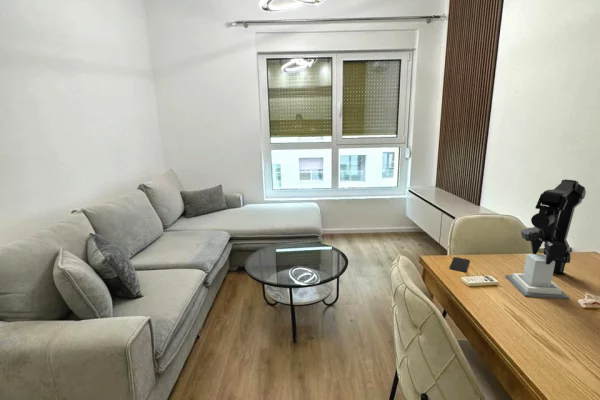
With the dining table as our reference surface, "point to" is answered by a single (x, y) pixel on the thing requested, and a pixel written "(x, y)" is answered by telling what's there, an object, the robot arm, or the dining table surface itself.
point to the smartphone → (459, 264)
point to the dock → (536, 288)
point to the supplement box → (538, 271)
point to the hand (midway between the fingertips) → (540, 259)
